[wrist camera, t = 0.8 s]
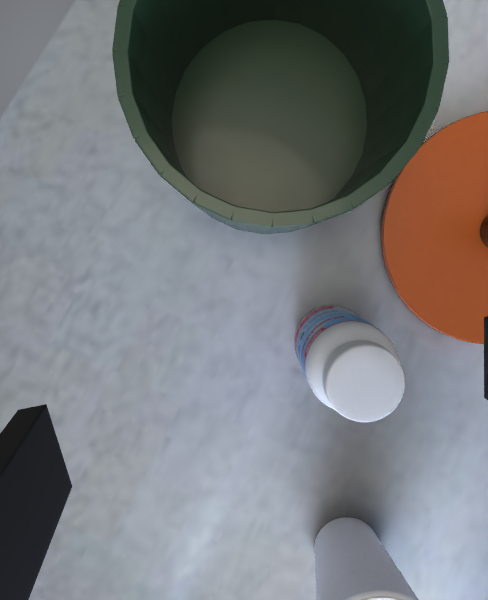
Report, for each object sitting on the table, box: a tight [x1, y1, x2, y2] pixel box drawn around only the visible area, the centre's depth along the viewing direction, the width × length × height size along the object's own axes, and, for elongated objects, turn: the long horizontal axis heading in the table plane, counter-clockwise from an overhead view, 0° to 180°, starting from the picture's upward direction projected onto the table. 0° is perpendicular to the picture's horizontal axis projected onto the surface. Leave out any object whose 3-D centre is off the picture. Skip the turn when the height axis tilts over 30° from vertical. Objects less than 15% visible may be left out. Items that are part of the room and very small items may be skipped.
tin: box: [113, 0, 449, 234], centre depth 28 cm, size 17×17×12 cm
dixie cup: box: [314, 517, 418, 600], centre depth 33 cm, size 8×8×10 cm
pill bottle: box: [294, 306, 405, 422], centre depth 30 cm, size 6×6×11 cm
